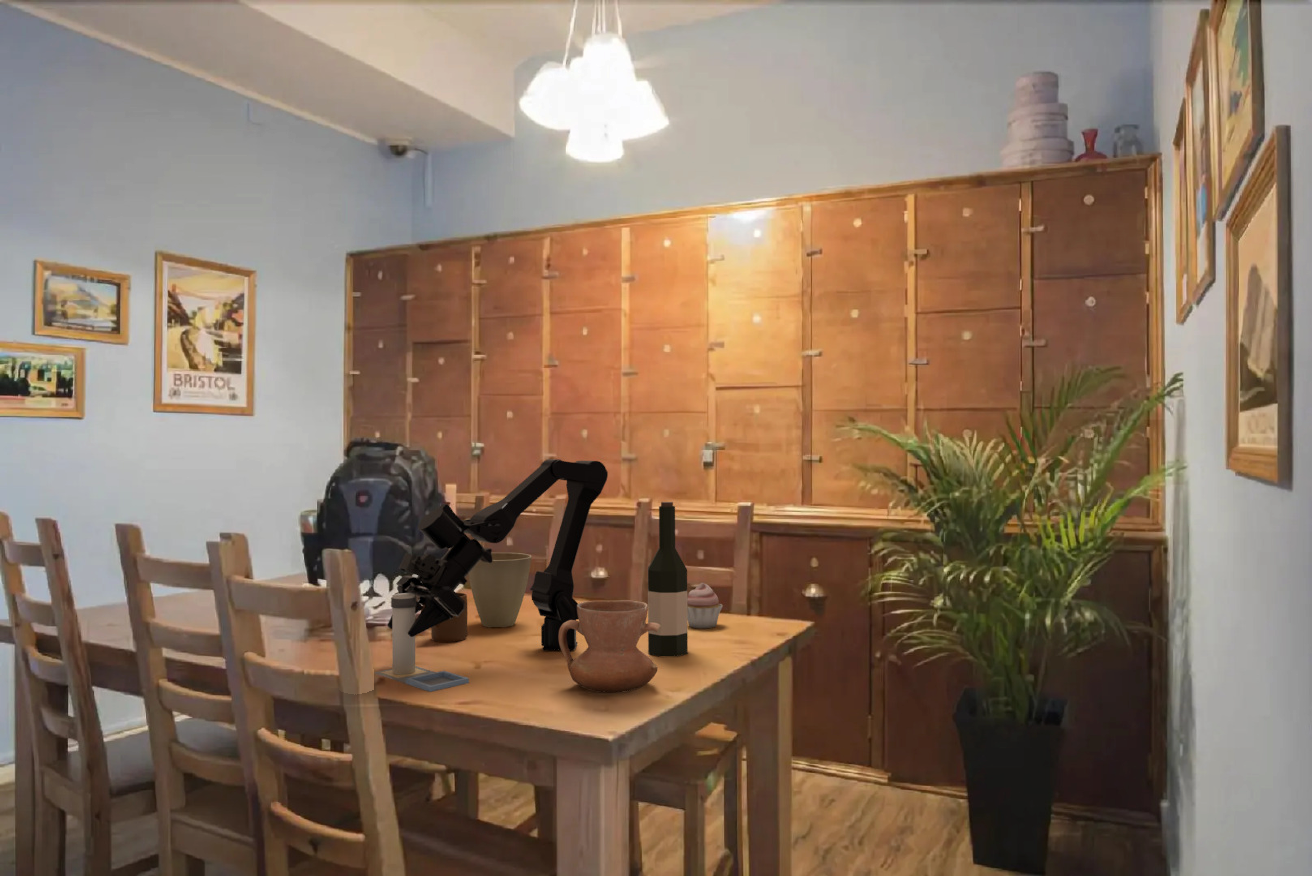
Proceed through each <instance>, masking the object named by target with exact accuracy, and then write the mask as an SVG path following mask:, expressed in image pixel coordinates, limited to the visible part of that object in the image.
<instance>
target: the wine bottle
mask: <svg viewBox="0 0 1312 876" xmlns="http://www.w3.org/2000/svg"><path fill="white" fill-rule="evenodd" d="M658 531H659V532H658V535H659V537H658V548H657V550H656V553H655V554H654V557H653V558H652V560H651V562H650V563H649V564H648V566H647V605H648V612H647V624H648V623H652V622H653V623H657V624H659V625H660V626H661V628H660V629H659V630H658V633H657V632H655V631H648V632H647V634H648V635H647V636H648V637H647V638H648V639H647V642H648V643H647V644H648V647H647V648H648V655H650V656H655V657H659V656H677V657H680V656H684V655H685V656H686V655H688V654H689V653H688V651H689V650H688V641H689V640H688V639H689V638H688V637H689V636H688V620H687V598H688V568H687V567H686V565H685V563H684V562H683V560H682V558H681V556H680V554H679V552H678V550H677V549H676V506H675V505H674V502H673V501H661V502H660V505H659V506H658Z"/></svg>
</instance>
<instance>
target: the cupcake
mask: <svg viewBox="0 0 1312 876" xmlns="http://www.w3.org/2000/svg"><path fill="white" fill-rule="evenodd" d="M723 606H724V605H723V604H722V603H719V598H718V596H717V594H716V593H715V592H714V590H713V589H712V588H711V586H710V585H708V584H707V583H704V582H701V583H699V584H698V585H697V586H696V587H695V589H691V590H690V591H689V592H688V593H687V625H689V627H691V628H693V629H700V628H701V629H712V627H713V628H715V627H717V624H718V619H719V616H720V613H721V610H722V608H723Z"/></svg>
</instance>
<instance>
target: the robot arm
mask: <svg viewBox="0 0 1312 876" xmlns="http://www.w3.org/2000/svg"><path fill="white" fill-rule="evenodd" d="M608 473H609V472H608V470H607V468H606V466H605V464H604V463H602V462H601V461H598V460H576V461H575V462H572V461H565V460H562V459H559V458H558V459H557V458H556V459H554V458H548V459H545V460H544V461H543V462H542V463H541V464H540V466H539V467H538V468H536V469H535V470H534V471H533V472H532V473H530V475H528V476H527V477H526V478H525V479H524V480H523V481H522V482H521V483H519V484H518V485H517V486H516V487H515V488H513V490H511V491H510V492H509V493H508V494H507V495H506V496H504V498H502V499H500V500H499V501H498V502H494V503H492V504H490V505H487V506H486V507H484V508H483V509H481V510H479V511H478V512H476V513H475V514H473V515H472V516H471V518H469V519H465V520H463V519H461V518H460V517H459V516H458V515H457V514H456V513H455V512H454V511H453V509H452V508H451V507H450V505H449V504H447V503H441V504H440V506H439V507H437V508H435V509H433V510H431V511H430V512H429V513H428V514H426V515H424V516H423V517H422V518H421V520H420V521H419V523H418V526H417V529H418V530H419V531H420V532H421V533H423V535H424V536H425V537H426V538H427V539H428V540H429V541H430V542H431V543H432V544H433V545H434V546H435V547H436V548H437V549H438V550H444V549H446V550H447V551H446V553H445V554H444V555H443V556H442V557H441V558H437V557H436V556H435V555H432V554H429V553H424V554H423V555H421V556H419V555H416V554H414V553H413V554H412V553H408V552H406V553H405V554H404V556H403V558H402V561H401V563H400V565H399V567H398V569H399V570H401V571H403V572H404V571H406V572H408V573H412V574H414V575H416V577H415V576H412V575H403V576H401V577H400V579H399V580H398V581H396V585H397V587H396V590H397V591H398V594H401V593H413V594H415V596H416V606H415V615H416V614H417V613H419V614H418V616H417V617H416V618H415V622H414V623H413V625H412V626H411V628H410V630H409V631H408V635H409V636H410V637H413V636H415V637H416V636H418V635H419V634H422V633H423V632H425V631H427V630H429V629H431V627H433V626H435V625H438V624H440V623H442V622H444V621H446V620H448V619H452V618H453V616H452V615H454V616H457V617H459V616H460V614H461V613H462V612H463V611H464V610H465V601H464V600H463V599H462V598H461V597H460V596H459V595H458V594H457V593H458V592H456V591H455V590H456V589H457V588H458V587H459V585H462V586H465V584H466V583H467V582H468V580H467V579H466V577H467V576H469V572H470V571H471V570H472V569H473V568H474V566H475V565H476V564H477V563H478V562H479V561H480V560H481V561H483V562H487V563H492V555H491V553H493V552H492V551H493V550H492V548H488V547H484V546H483V545H482V544H481V543H480V542H483V543H489V544H498V543H499V544H500V543H501V542H502V541H504V540H505V539H506V537H507V536H508V535H509V534H510V532H511V531H512V530H513V529H514V527H515V525H516V523H517V520H518V518H519V516H521V514H523V512H524V511H526V510H527V509H528V508H529V507H530V506H531V505H533V503H534V502H536V501H537V500H538V499H539V498H540V497H541V496H542V495H543V494H544V493H546V492H547V491H548V490H549V489H550V488H551V487H552V486H553V485H554V484H555V483H557V482H558V481H559V480H560V481H566V484H565V486H566V492H567V499H568V500H567V503H566V506H565V510H564V513H563V516H562V519H561V522H560V526H559V529H558V532H557V533H558V534H557V538H556V540H555V543H554V547H553V551H552V554H551V558H550V561H549V563H548V565H547V567H546V568H545V570H543V571H540V570H537V571H536V572H535V574H534V580H533V584H532V586H531V587H530V589H529V590H530V591H531V600H532V602H533V605H534V606H535V607H536V608H537V610H538V613H539V616H541V617H544V619H543V624H542V625H541V626H540V630H541V631H540V632H541V633H540V634H541V636H540V637H541V638H540V639H541V643H540V644H541V646H542V651H545V652H547V651H550V652H551V651H562V650H561V648H560V644H559V630H560V627H561V626H562V624H563V623H565V622H567V621H569V620H576V621H579V619H578V613H577V604H579V603H578V602H577V601H576V600H575V598H574V597H573V595H574V590H575V583H574V577H573V568H574V564H575V561H576V557H577V554H578V551H579V548H580V544H581V541H582V537H583V533H584V529H585V526H586V524H587V519H588V516H589V513H590V509H591V507H592V504H593V503H594V502H595V500H597V499H598V497H599V496H600V495H601V493H602V491H604V490H603V489H604V487H605V485H606V483H607V481H608V476H609V474H608ZM467 534H469V535H470V536H471V538H472V539H471V538H470V537H469V536H468V535H467ZM424 605H425V607H423V606H424ZM423 608H424V609H423ZM422 609H423V610H422ZM421 610H422V612H421ZM451 614H452V615H451ZM387 627H388V629H391V630H392V615H391V616H390V619H389V621H388V623H387ZM566 635H567V636H566V639H567V645H568V648H569V651H575V650H576V648H577V647H578V641H577V631H576V630H575V629H572V628H570V629H568V631H567V634H566Z"/></svg>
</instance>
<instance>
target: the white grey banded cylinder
mask: <svg viewBox="0 0 1312 876" xmlns="http://www.w3.org/2000/svg"><path fill="white" fill-rule="evenodd" d="M390 601H391V602H390V604H391V605H390V606H391V608H392V609H391V610H392V611H391V613H392V615H391V616H392V629H391V630H392V631H391V632H392V634H391V635H392V639H391V640H392V644H391V645H392V669H393V674H396V675H406V674H412V673H414V672H415V666H416V635H415V636H413V637H410V636H409V635H408V631H409V630H410V628H411V626H412V625H413V623H414V622H415V620H416V614H415V606H416V596H415V594H413V593H401V594H399V593H394V594H392V596H391V598H390Z"/></svg>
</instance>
